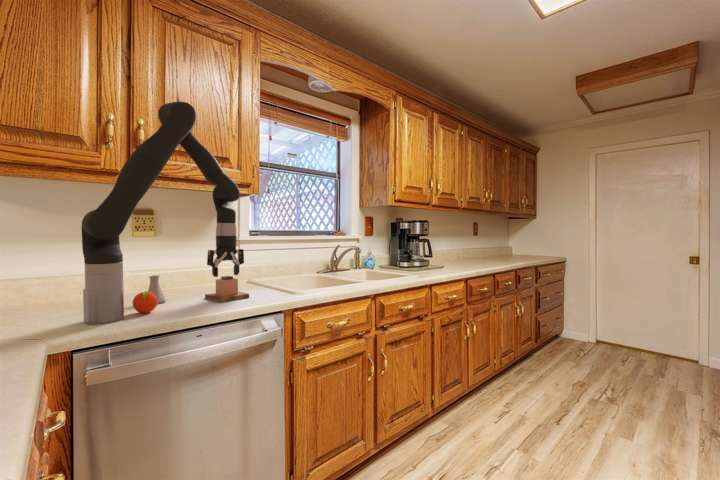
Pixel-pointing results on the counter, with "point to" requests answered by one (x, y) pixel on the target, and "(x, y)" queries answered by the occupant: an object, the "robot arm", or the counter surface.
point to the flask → (156, 289)
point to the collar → (226, 287)
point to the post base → (226, 298)
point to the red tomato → (145, 302)
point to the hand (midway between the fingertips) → (226, 275)
